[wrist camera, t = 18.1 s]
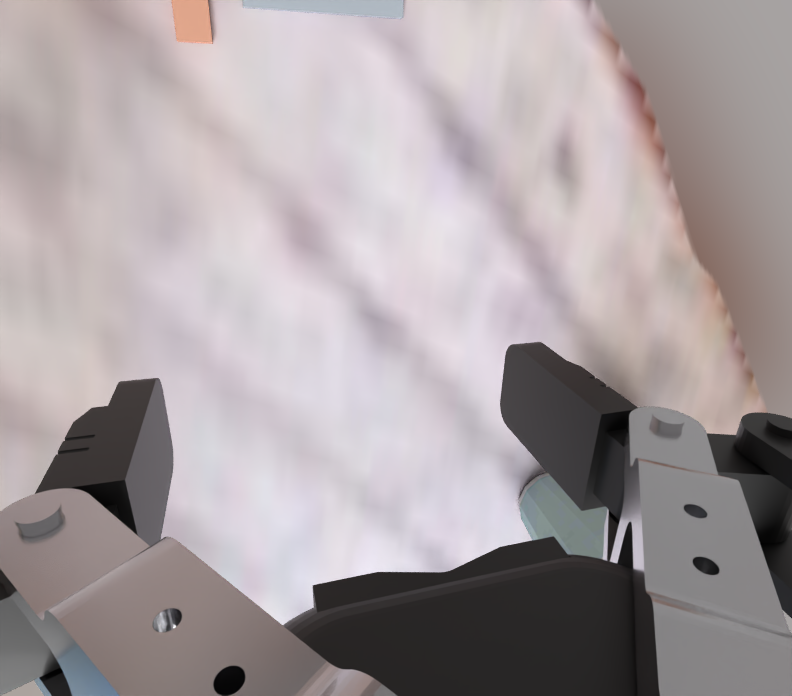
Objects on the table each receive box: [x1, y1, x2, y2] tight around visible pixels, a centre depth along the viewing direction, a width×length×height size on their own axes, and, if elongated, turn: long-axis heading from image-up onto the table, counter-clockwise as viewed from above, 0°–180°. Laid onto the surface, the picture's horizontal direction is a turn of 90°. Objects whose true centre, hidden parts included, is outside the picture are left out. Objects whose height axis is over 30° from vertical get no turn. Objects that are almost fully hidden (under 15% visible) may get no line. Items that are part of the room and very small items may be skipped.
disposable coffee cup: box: [519, 473, 608, 559], centre depth 49 cm, size 11×11×15 cm
